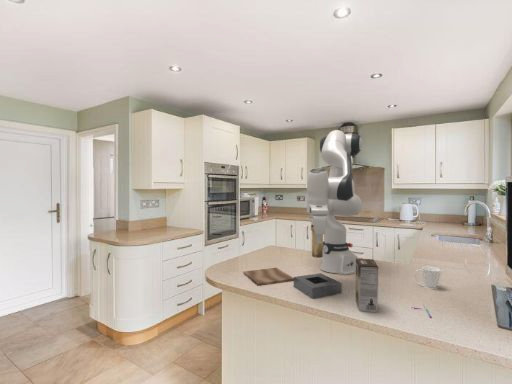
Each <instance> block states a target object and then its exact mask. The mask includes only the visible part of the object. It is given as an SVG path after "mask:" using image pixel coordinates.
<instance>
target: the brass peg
mask: <svg viewBox="0 0 512 384" xmlns="http://www.w3.org/2000/svg"><path fill="white" fill-rule="evenodd" d="M310 225H311V226H310V231H311V257H313V258H318V259H321V258H323V241H324V235H321V243H320V244H317V243H316V234H315V232H314V228H313V225H312V224H310Z"/></svg>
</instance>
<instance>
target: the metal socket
mask: <svg viewBox="0 0 512 384" xmlns="http://www.w3.org/2000/svg"><path fill="white" fill-rule="evenodd" d="M293 278H294V281H293V288H296V289H297V290H298V291H300V292H301V293H303V294H305V295H306V296H308V297H309V298H311V299H319V298H322V297H328V296H335V295H339V294H342V292H343V290H342V289H343V285H342V284H343V283H342V282H340V281H339V280H336V279H334V278H332V277H329V276H328V275H325V274H323V273H322V272H321V273H320V272H319V273H311V274H307V275H300V276H299V275H298V276H293Z"/></svg>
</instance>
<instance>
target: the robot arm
mask: <svg viewBox="0 0 512 384" xmlns="http://www.w3.org/2000/svg"><path fill="white" fill-rule="evenodd" d="M362 148H363V139H362V137H361V135H360V134H358V133H357V134H356V133H351V134H350V133H345V132H343V131H342V130H338V129H334V130H332V131H330V132H329V133H328V134H327V135H326V136H323V137H322V138H321V139H320V141H319V150H320V153H321V158H322V160H323V161H324V162H325V163H326V164H327V165H329V166H330V168H329V173H328V170H327V169H326V168H315V169H313V168H312V169H310V170H309V171H308V174H307V180H306V192H307V197H306V213H308V214H309V217H311V223H310V225H313V228H314V232H315V234H316V243H317V244H320V243H321V235H323V257H322V259H321V265H320V268H319V269H320V270H322V271H323V272H327V273H331V274H340V275H344V276H345V275H350V274H354V273H355V274H356V259H359V257H358V256H357V255H356V254H355V253H354V252H352V251H351V250H350V249H349V248H353V246H354V245H353V243H350V242H347V228H346V226H345V225H344V224H343V223H341V222H340V221H338V220H337V219H336V218H335V216H340V217H341V216H342V217H348V216H349V217H350V216H356V215H359V214H360V212H361V211H362V209H363V202H362V199H361V198H360V197H359V195H357V194H355V191H356V188H355V182H354V175H353V174H354V173H353V163H352V159H353V158H355V157H356V156H357V155H358V154H359V153H361V151H362Z"/></svg>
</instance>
